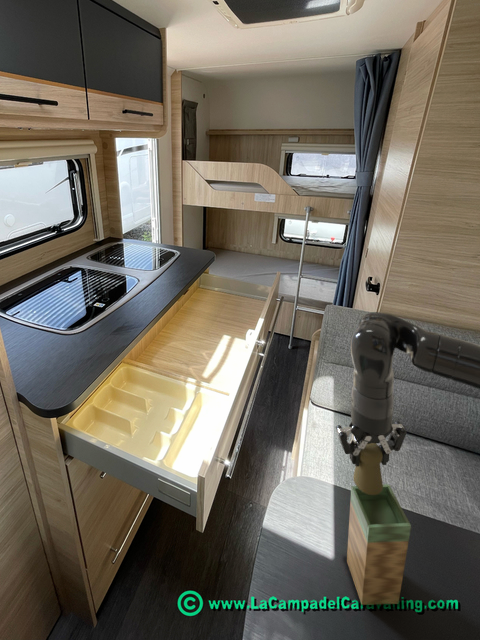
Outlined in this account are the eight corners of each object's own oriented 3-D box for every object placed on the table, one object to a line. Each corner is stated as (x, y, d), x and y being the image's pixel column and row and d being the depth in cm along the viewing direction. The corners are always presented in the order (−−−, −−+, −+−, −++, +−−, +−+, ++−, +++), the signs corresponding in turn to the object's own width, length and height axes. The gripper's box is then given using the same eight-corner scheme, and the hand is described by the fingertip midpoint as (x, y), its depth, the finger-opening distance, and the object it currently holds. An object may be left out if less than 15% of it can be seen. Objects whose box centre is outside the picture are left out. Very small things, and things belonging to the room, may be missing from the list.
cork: (389, 491, 72) (391, 455, 68) (364, 498, 71) (365, 462, 68) (371, 466, 78) (372, 432, 74) (347, 472, 77) (348, 438, 73)
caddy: (379, 561, 86) (389, 484, 75) (398, 605, 78) (411, 525, 67) (346, 562, 86) (351, 486, 76) (361, 606, 78) (368, 527, 68)
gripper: (343, 421, 64) (342, 480, 70) (419, 415, 62) (412, 476, 68) (329, 393, 71) (330, 449, 77) (398, 387, 69) (393, 445, 75)
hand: (368, 461), depth 72 cm, fingers closed on cork, 5 cm apart
